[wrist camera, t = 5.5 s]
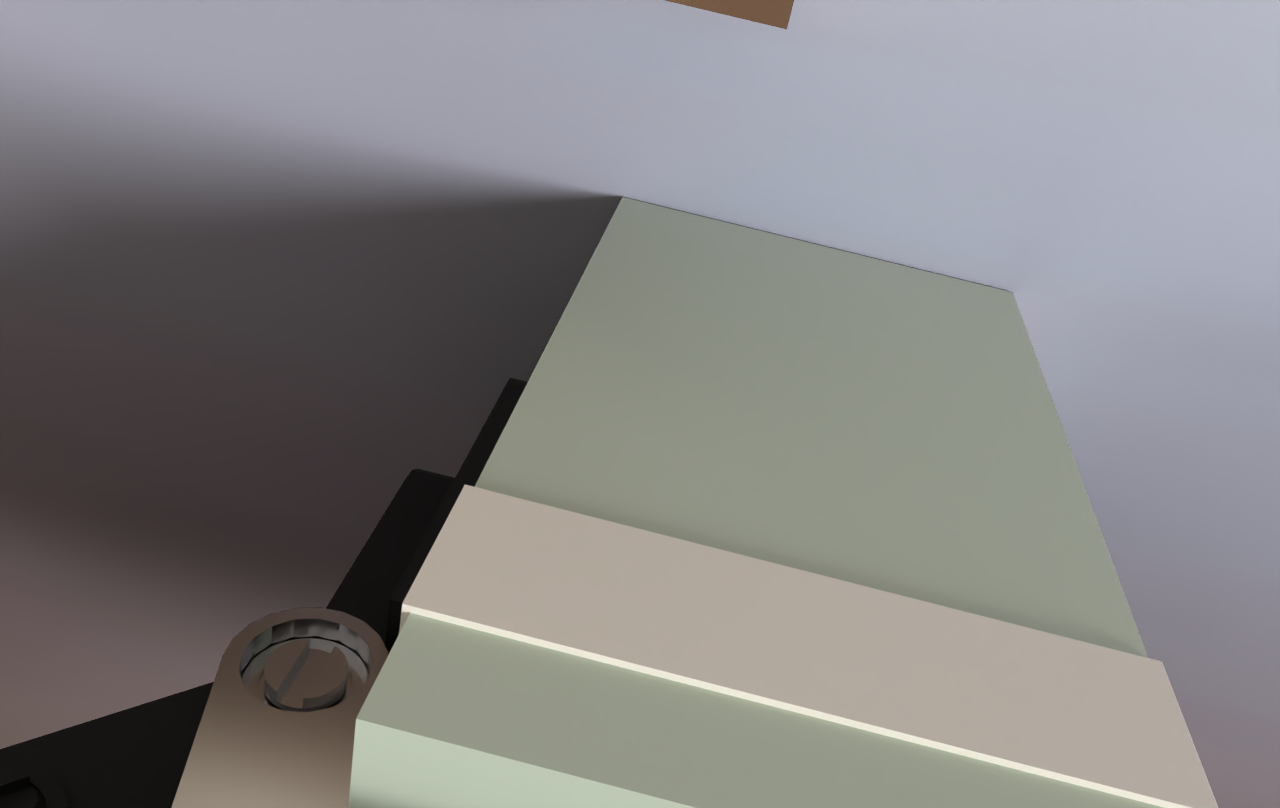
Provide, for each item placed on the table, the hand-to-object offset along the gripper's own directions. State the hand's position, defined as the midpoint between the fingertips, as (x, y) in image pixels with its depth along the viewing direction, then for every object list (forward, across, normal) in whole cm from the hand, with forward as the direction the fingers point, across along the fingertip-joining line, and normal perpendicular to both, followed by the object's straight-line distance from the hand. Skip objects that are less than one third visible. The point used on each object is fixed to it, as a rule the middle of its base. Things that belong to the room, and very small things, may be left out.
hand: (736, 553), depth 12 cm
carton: (+2, 0, 0) cm, 2 cm away
